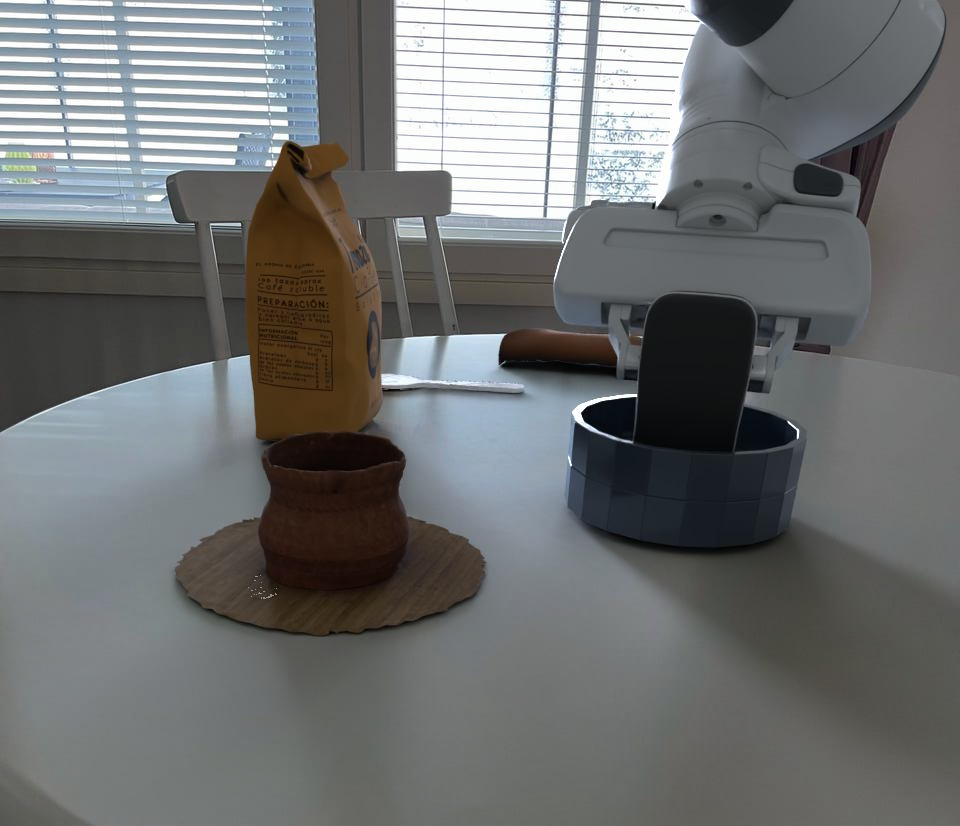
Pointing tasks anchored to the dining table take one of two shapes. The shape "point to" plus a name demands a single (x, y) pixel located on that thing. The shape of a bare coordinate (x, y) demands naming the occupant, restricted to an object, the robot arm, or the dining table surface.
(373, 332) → the coffee package
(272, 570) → the ceramic pot
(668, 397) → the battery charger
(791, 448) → the faceted round bowl
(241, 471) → the dining table surface
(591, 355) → the sunglasses case
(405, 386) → the spoon
